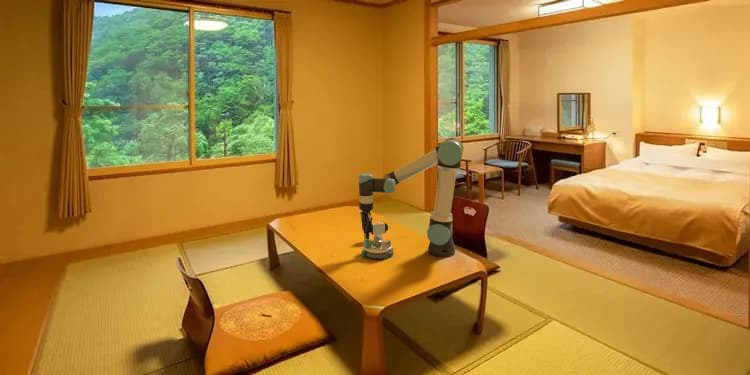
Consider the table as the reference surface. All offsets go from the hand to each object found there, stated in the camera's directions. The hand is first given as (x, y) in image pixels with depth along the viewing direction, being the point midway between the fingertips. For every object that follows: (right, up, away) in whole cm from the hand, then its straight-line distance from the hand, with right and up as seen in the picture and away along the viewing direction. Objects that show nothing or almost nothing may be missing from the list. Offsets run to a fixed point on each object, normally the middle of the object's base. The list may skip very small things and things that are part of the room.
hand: (366, 243), depth 233 cm
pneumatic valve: (+6, -2, +26) cm, 27 cm away
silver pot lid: (+6, -7, +2) cm, 9 cm away
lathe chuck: (+6, -3, +2) cm, 7 cm away
